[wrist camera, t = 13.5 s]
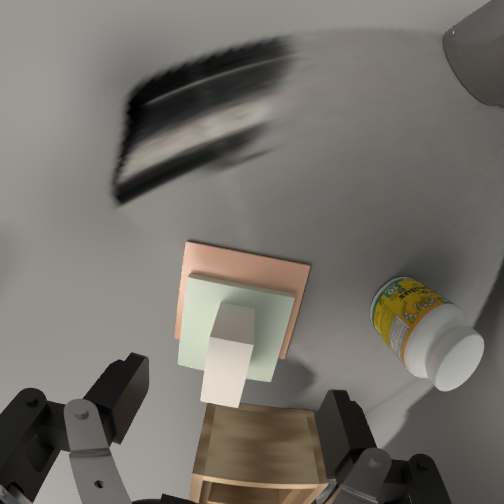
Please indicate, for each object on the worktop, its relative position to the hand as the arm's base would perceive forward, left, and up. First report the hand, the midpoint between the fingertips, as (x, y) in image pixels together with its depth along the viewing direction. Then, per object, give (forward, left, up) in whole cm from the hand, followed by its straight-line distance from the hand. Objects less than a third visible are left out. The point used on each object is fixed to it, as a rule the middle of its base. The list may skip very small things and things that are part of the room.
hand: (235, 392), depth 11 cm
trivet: (0, 0, -10) cm, 10 cm away
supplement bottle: (-13, -2, -10) cm, 16 cm away
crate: (-4, +15, -10) cm, 18 cm away
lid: (+1, +2, -10) cm, 10 cm away
